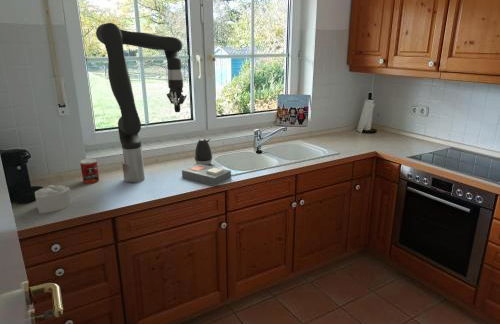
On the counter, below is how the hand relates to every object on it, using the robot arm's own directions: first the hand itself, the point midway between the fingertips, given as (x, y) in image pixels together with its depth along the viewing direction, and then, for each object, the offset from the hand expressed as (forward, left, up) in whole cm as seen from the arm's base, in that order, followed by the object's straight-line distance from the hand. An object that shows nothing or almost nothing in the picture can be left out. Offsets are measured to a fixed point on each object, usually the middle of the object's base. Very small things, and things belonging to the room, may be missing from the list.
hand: (177, 112), depth 194 cm
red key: (-3, -15, -31) cm, 35 cm away
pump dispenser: (+13, -5, -32) cm, 35 cm away
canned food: (-39, +25, -32) cm, 56 cm away
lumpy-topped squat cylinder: (-66, +10, -32) cm, 74 cm away
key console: (-3, -21, -32) cm, 38 cm away
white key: (-3, -27, -30) cm, 40 cm away
